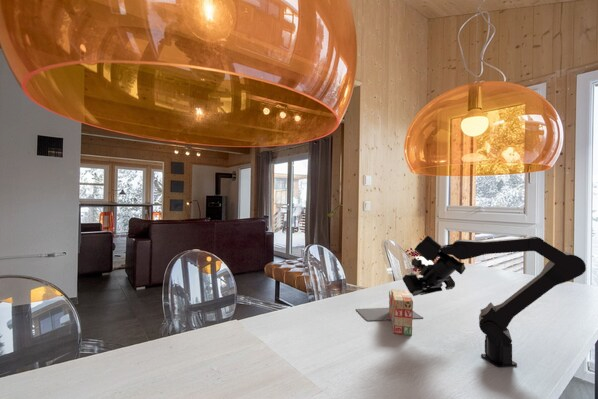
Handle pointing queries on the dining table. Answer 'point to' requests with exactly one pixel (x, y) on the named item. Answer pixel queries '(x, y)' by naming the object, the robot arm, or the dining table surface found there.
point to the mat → (380, 314)
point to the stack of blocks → (401, 311)
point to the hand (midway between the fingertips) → (416, 294)
